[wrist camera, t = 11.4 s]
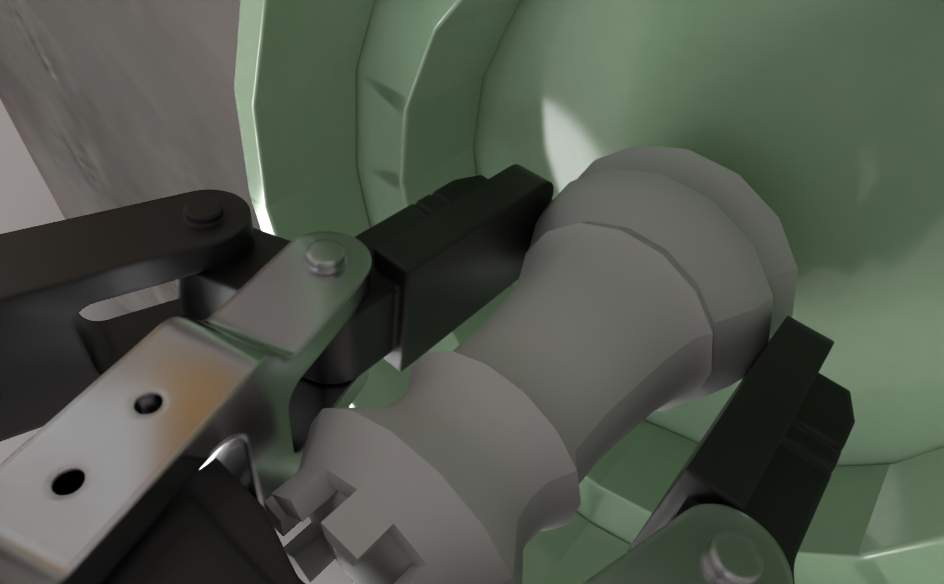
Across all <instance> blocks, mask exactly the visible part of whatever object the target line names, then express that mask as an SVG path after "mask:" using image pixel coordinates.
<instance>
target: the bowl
mask: <svg viewBox="0 0 944 584" xmlns="http://www.w3.org/2000/svg"><path fill="white" fill-rule="evenodd" d="M234 88H235V91H234V93H235V100H236V106H237V113H238V120H239V127H240V133H241V140H242V147H243V154H244V160H245V167H246V174H247V181H248V187H249V194H250V197H251V201H252V204H253V207H254V210H255V213H256V216H257V219H258V222H259V225H260V228H261V231H263V232H266V233H269V234H272V235H275V236H278V237H281V238H283V239H286V240H289V241H292V240H294V239H296V238H297V237H299V236H302V235H305V234H308V233H312V232H318V231H334V232H340V233H344V234H347V235H350V236H352V237H355V236H357V235H358V234H360V233H362V232H364V231H365V230H367V229H369V228H371V227H373V226H374V225H376V224H378V223H380V222H381V221H383V220H385V219H387V218H388V217H390V216H392V215H394V214H395V213H397V212H399V211H401V210H402V209H404V208H406V207H408V206H409V205H411V204H414V205H415V204H416V203H417V201H418V200H420V199H422V198H423V197H425V196H427V195H429V194H430V195H432V194H433V192H434V191H436V190H438V189H439V188H441V187H443V186H445V185H446V184H448V183H450V182H452V181H453V180H457V179H462V178H467V177H472V176H477V175H482V176H484V177H486V178H488V179H489V178H491V177H493V176H494V175H496V174H498V173H499V172H501V171H503V170H504V169H506V168H508V167H509V166H511V165H514V164H519V165H521V166H523V167H524V168H526V169H528V170H530V171H532V172H533V173H535V174H537V175H539V176H541V177H542V178H544V179H546V180H548V181H550V182H551V183H552V184H553V187H554V191H553V197H552V201H553V200H554V199H555V197H556V196H557V195H558V194H559V193H560V192H561V191H562V190H563V189H564V188H565V187H566V186H567V184H568V183H569V182H571V181H574V180H576V179H577V178H578V177H579V176H580V175H581V174H582V173H583V172H584V171H585V170H586V169H587V168H588V167H589V165H590V164H591V163H592V162H593V161H594V160H596V159H598V158H601V157H604V156H607V155H609V154H612V153H615V152H618V151H621V150H623V149H626V148H629V147H632V146H634V145H645V146H658V147H670V148H683V149H689V150H691V151H693V152H695V153H697V154H699V155H701V156H703V157H705V158H707V159H709V160H711V161H713V162H715V163H717V164H719V165H721V166H723V167H725V168H727V169H729V170H731V171H733V172H735V173H737V174H739V175H740V176H741V177H742V178H743V179H744V180H745V181H746V182H747V184H748V185H749V186H750V187H751V188H752V189H753V190H754V191H755V192H756V193H757V194H758V195H759V197H760V198H761V199H762V200H763V201H764V202H765V203H766V204H767V205H768V206H769V207H770V208H771V209H772V211H773V212H774V213H775V214H776V215H777V216H778V217H779V219H780V222H781V224H782V227H783V230H784V233H785V235H786V238H787V241H788V243H789V246H790V249H791V252H792V254H793V257H794V260H795V263H796V265H797V268H798V271H797V280H796V289H795V298H794V307H793V316H792V318H793V319H795V320H797V321H799V322H801V323H802V324H804V325H806V326H808V327H810V328H811V329H813V330H815V331H817V332H818V333H820V334H822V335H824V336H826V337H827V338H829V339H831V340H833V341H834V344H833V346H832V348H831V350H830V352H829V354H828V356H827V358H826V359H825V361H824V363H823V365H822V367H821V369H820V371H819V372H818V373H820V374H822V375H823V376H825V377H827V378H829V379H830V380H832V381H834V382H835V383H837V384H839V385H840V386H842V387H844V388H846V389H847V390H849V391H850V393H851V400H852V406H853V413H854V419H855V423H854V426H853V428H852V430H851V432H850V435H849V437H848V439H847V441H846V444H845V446H844V448H843V449H842V451H841V455H840V457H839V460H838V462H837V464H836V466H835V469H834V470H833V471H832V473H831V474H832V475H831V478H830V480H829V482H828V485H827V487H826V489H825V491H824V494H823V496H822V498H821V500H820V503H819V505H818V507H817V509H816V512H815V514H814V516H813V519H812V521H811V523H810V525H809V528H808V530H807V532H806V534H805V537H804V539H803V541H802V543H801V546H800V548H799V550H798V553H797V556H796V559H795V564H794V583H795V584H944V0H240V11H239V24H238V38H237V51H236V64H235V78H234ZM552 201H551V202H552ZM518 281H519V279H518V280H517V281H516V282H514V283H513V284H512V285H511V286H509V287H508V288H507V289H505V290H504V291H503V292H502V293H500V294H499V295H498V296H497V297H495V298H494V299H493V300H492V301H490V302H489V303H488V304H486V305H485V306H484V307H483V308H481V309H480V310H479V311H478V312H476V313H475V314H474V315H473V316H471V317H470V318H469V319H468V320H466V321H465V322H464V323H462V324H461V325H460V326H459V327H457V328H456V329H455V330H454V331H452V332H451V333H450V334H449V335H447V336H446V337H445V338H444V339H442V340H441V341H440V342H438V343H437V344H436V345H435V346H433V347H432V348H431V349H430V350H428V351H427V352H426V353H431V352H444V351H453V350H455V349H456V348H457V347H458V346H459V345H461V344H462V343H463V342H464V341H465V340H467V339H468V338H469V337H470V336H472V335H473V334H474V333H475V332H476V331H477V330H478V329H479V328H480V326H481V325H482V324H483V323H484V322H485V321H486V320H487V319H488V317H489V316H490V315H491V314H492V313H493V312H494V311H495V309H496V308H497V307H498V306H499V305H500V304H501V303H502V302H503V300H504V299H505V298H506V297H507V296H508V295H509V294H510V292H511V291H512V290H513V289H514V287H515V286H516V284H517V283H518ZM423 355H424V354H423ZM423 355H422V356H423ZM422 356H421V357H422ZM421 357H420V358H421ZM420 358H418V359H417V360H416V361H414V362H413V363H412V364H411V365H409V366H408V367H407V368H406V369H404V370H403V371H402V372H399V371H398V370H397V369H396V368H394V367H393V366H392V365H391V364H389V363H388V362H387V361H386V360H384V359H381V360H380V361H379V362H377V363H376V364H375V365H373V366H372V367H371V368H369V376H368V379H367V382H366V384H365V385H364V387H363V388H362V390H361V391H360V393H359V394H358V395H357V397H356V398H355V400H354V401H353V402H352V404H351V405H350V407H349V408H353V407H386V406H388V405H389V404H391V403H393V402H394V401H396V400H397V399H399V398H401V397H402V396H403V395H404V394H405V393H406V392H407V389H408V382H409V375H410V368H411V367H412V366H413V365H414V364H415V363H416V362H417V361H418V360H419V359H420ZM742 379H743V378H742ZM742 379H740V380H739V381H737V382H735V383H734V384H732V385H730V386H729V387H726V388H724V389H722V390H719V391H717V392H715V393H713V394H710V395H708V396H706V397H704V398H701V399H699V400H697V401H694V402H684V403H682V404H680V405H677V406H675V407H673V408H671V409H668V410H666V411H654V412H652V413H651V414H650V415H649V416H648V417H646V418H645V419H644V420H643V421H642V422H641V423H640V424H638V425H637V426H636V427H635V428H634V429H633V430H632V431H631V432H629V433H628V434H627V435H626V436H625V437H624V438H623V439H622V440H620V441H619V442H618V443H617V444H616V445H615V446H614V447H613V448H611V449H610V450H609V451H608V452H607V453H606V454H605V455H603V456H602V457H601V458H600V459H599V460H598V461H597V463H596V464H595V465H594V466H593V468H592V469H591V470H590V471H589V473H588V474H587V475H586V476H585V478H584V479H583V480H582V481H581V483H580V484H579V489H580V500H581V504H580V506H579V508H578V510H577V511H576V513H575V515H574V517H573V519H572V520H571V522H570V524H569V525H565V526H562V527H558V528H555V529H551V530H547V531H539V532H538V533H537V534H536V535H535V536H534V537H533V538H532V539H531V540H529V541H528V542H527V544H526V546H525V547H524V549H523V570H522V584H582V583H584V582H585V581H587V580H588V579H589V578H591V577H592V576H594V575H595V574H596V573H598V572H599V571H601V570H602V569H604V568H605V567H606V566H608V565H609V564H611V563H612V562H613V561H615V560H616V559H618V558H619V557H621V556H622V555H623V554H625V553H626V552H627V550H628V549H629V547H630V546H631V544H632V543H633V541H634V540H635V538H636V537H637V535H638V534H639V532H640V531H641V529H642V528H643V526H644V525H645V523H646V522H647V520H648V519H649V517H650V516H651V514H652V513H653V511H654V510H655V508H656V507H657V505H658V504H659V502H660V501H661V499H662V498H663V496H664V495H665V493H666V492H667V490H668V489H669V487H670V486H671V484H672V483H673V481H674V480H675V478H676V477H677V475H678V474H679V472H680V471H681V469H682V468H683V466H684V465H685V463H686V462H687V460H688V459H689V457H690V456H691V454H692V453H693V451H694V450H695V448H696V447H697V445H698V444H699V442H700V441H701V439H702V438H703V436H704V435H705V433H706V432H707V430H708V429H709V427H710V426H711V424H712V423H713V421H714V420H715V418H716V417H717V415H718V414H719V412H720V411H721V409H722V408H723V407H724V405H725V404H726V402H727V401H728V399H729V398H730V396H731V395H732V393H733V392H734V390H735V389H736V388H737V386H738V385H739V383H740V382H741V380H742Z"/></svg>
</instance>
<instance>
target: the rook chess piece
mask: <svg viewBox="0 0 944 584" xmlns="http://www.w3.org/2000/svg"><path fill="white" fill-rule="evenodd" d="M797 271H798V268H797V265H796V263H795V260H794V257H793V254H792V252H791V249H790V246H789V243H788V241H787V238H786V235H785V233H784V230H783V227H782V224H781V222H780V219H779V217H778V216H777V215H776V214H775V213H774V212H773V211H772V209H771V208H770V207H769V206H768V205H767V204H766V203H765V202H764V201H763V200H762V199H761V198H760V197H759V195H758V194H757V193H756V192H755V191H754V190H753V189H752V188H751V187H750V186H749V185H748V184H747V182H746V181H745V180H744V179H743V178H742V177H741V176H740V175H739V174H737V173H735V172H733V171H731V170H729V169H727V168H725V167H723V166H721V165H719V164H717V163H715V162H713V161H711V160H709V159H707V158H705V157H703V156H701V155H699V154H697V153H695V152H693V151H691V150H689V149H683V148H670V147H658V146H645V145H634V146H632V147H629V148H626V149H623V150H621V151H618V152H615V153H612V154H609V155H607V156H604V157H601V158H598V159H596V160H594V161H593V162H592V163H591V164H590V165H589V167H588V168H587V169H586V170H585V171H584V172H583V173H582V174H581V175H580V176H579V177H578V178H577V179H576V180H574V181H571V182H569V183H568V184H567V186H566V187H565V188H564V189H563V190H562V191H561V192H560V193H559V194H558V195H557V196H556V197H555V199H554V200H553V201H552V202H551V203H550V204H549V205H548V206H547V207H546V208H545V209H544V211H543V212H542V214H541V216H540V217H539V219H538V220H537V222H536V225H535V229H534V232H533V236H532V240H531V244H530V247H529V250H528V251H527V252H526V254H525V258H524V262H523V265H522V269H521V273H520V277H519V281H518V283H517V284H516V286H515V287H514V289H513V290H512V291H511V292H510V294H509V295H508V296H507V297H506V298H505V299H504V300H503V302H502V303H501V304H500V305H499V306H498V307H497V308H496V309H495V311H494V312H493V313H492V314H491V315H490V316H489V317H488V319H487V320H486V321H485V322H484V323H483V324H482V325H481V326H480V328H479V329H478V330H477V331H476V332H475V333H474V334H473V335H472V336H470V337H469V338H468V339H467V340H465V341H464V342H463V343H462V344H461V345H459V346H458V347H457V348H456V349H455V350H453V351H444V352H431V353H425V354H424V355H423V356H422V357H421V358H420V359H419V360H418V361H417V362H416V363H415V364H414V365H413V366H412V367H411V368H410V375H409V382H408V389H407V392H406V393H405V394H404V395H403V396H402V397H401V398H399V399H397V400H396V401H394V402H393V403H391V404H389V405H388V406H386V407H353V408H323V409H322V410H321V412H320V413H319V414H318V415H317V417H316V418H315V419H314V421H313V422H312V423H311V426H310V429H309V433H308V437H307V441H306V444H305V448H304V452H303V455H302V459H301V463H300V467H299V470H298V472H297V473H296V474H294V475H293V476H292V477H291V478H290V479H288V480H287V481H286V482H285V483H283V484H282V485H281V486H280V487H278V488H277V489H276V490H275V491H274V492H272V493H271V494H272V496H271V497H269V498H268V499H267V500H266V501H264V505H265V510H266V512H267V514H268V517H269V519H270V521H271V523H272V525H273V527H274V528H275V529H276V530H277V531H278V532H279V533H280V534H281V535H282V536H284V535H286V534H287V533H288V532H289V531H290V530H291V529H292V528H294V527H295V526H296V525H297V524H298V523H299V522H300V521H302V522H303V521H304V520H305V519H306V518H307V517H310V519H311V521H312V523H310V524H309V525H308V526H307V527H306V528H305V529H304V530H303V531H302V532H300V533H299V534H298V535H297V536H296V537H295V538H294V539H292V540H291V541H290V542H289V543H288V544H287V545H286V546H285V547H284V549H285V552H286V554H287V556H288V558H289V560H290V562H291V564H292V566H293V567H294V569H295V570H296V572H297V573H298V575H299V577H300V578H301V580H302V581H306V582H311V581H312V580H313V579H314V578H315V577H316V576H317V575H318V574H320V573H321V572H322V571H323V570H324V569H325V568H326V567H327V566H328V565H329V564H330V563H331V562H332V561H333V560H334V559H336V560H337V562H338V564H339V565H340V566H341V568H342V569H343V570H344V571H345V573H346V574H347V575H348V576H349V578H350V579H351V580H352V582H353V583H354V584H522V570H523V549H524V547H525V546H526V544H527V542H528V541H529V540H531V539H532V538H533V537H534V536H535V535H536V534H537V533H538V532H539V531H547V530H551V529H555V528H558V527H562V526H565V525H569V524H570V522H571V520H572V519H573V517H574V515H575V513H576V511H577V510H578V508H579V506H580V504H581V500H580V489H579V484H580V483H581V481H582V480H583V479H584V478H585V476H586V475H587V474H588V473H589V471H590V470H591V469H592V468H593V466H594V465H595V464H596V463H597V461H598V460H599V459H600V458H601V457H602V456H603V455H605V454H606V453H607V452H608V451H609V450H610V449H611V448H613V447H614V446H615V445H616V444H617V443H618V442H619V441H620V440H622V439H623V438H624V437H625V436H626V435H627V434H628V433H629V432H631V431H632V430H633V429H634V428H635V427H636V426H637V425H638V424H640V423H641V422H642V421H643V420H644V419H645V418H646V417H648V416H649V415H650V414H651V413H652V412H654V411H666V410H668V409H671V408H673V407H675V406H677V405H680V404H682V403H684V402H694V401H697V400H699V399H701V398H704V397H706V396H708V395H710V394H713V393H715V392H717V391H719V390H722V389H724V388H726V387H729V386H730V385H732V384H734V383H735V382H737V381H739V380H740V379H742V378H743V377H744V376H745V375H746V374H747V372H748V371H749V369H750V368H751V366H752V365H753V364H754V362H755V361H756V359H757V358H758V357H759V355H760V354H761V352H762V351H763V349H764V348H765V347H766V345H767V344H768V342H769V341H770V339H771V338H772V336H773V335H774V333H775V332H776V331H777V329H778V328H779V326H780V325H781V324H782V322H783V321H784V319H785V318H786V317H787V315H788V316H790V317H792V316H793V307H794V298H795V289H796V280H797Z"/></svg>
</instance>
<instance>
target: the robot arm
mask: <svg viewBox="0 0 944 584" xmlns="http://www.w3.org/2000/svg"><path fill="white" fill-rule="evenodd" d="M553 191H554V187H553V184H552V183H551V182H550V181H548V180H546V179H544V178H542V177H541V176H539V175H537V174H535V173H533V172H532V171H530V170H528V169H526V168H524V167H523V166H521V165H519V164H514V165H511V166H509V167H508V168H506V169H504V170H503V171H501V172H499V173H498V174H496V175H494V176H493V177H491V178H489V179H488V178H486V177H484V176H482V175H477V176H472V177H467V178H462V179H457V180H453V181H452V182H450V183H448V184H446V185H445V186H443V187H441V188H439V189H438V190H436V191H434V192H433V194H432V195H430V194H429V195H427V196H425V197H423V198H422V199H420V200H418V201H417V203H416V204H415V205H414V204H411V205H409V206H408V207H406V208H404V209H402V210H401V211H399V212H397V213H395V214H394V215H392V216H390V217H388V218H387V219H385V220H383V221H381V222H380V223H378V224H376V225H374V226H373V227H371V228H369V229H367V230H365V231H364V232H362V233H360V234H358V235H357V236H355V237H352V236H350V235H347V234H344V233H340V232H334V231H318V232H312V233H308V234H305V235H302V236H299V237H297V238H296V239H294V240H292V241H289V240H286V239H283V238H281V237H278V236H275V235H272V234H269V233H266V232H263V231H261V230H258V229H255V228H253V226H252V219H251V212H250V208H249V206H248V204H247V203H246V202H245V201H244V200H243V199H242V198H241V197H239V196H237V195H235V194H232V193H230V192H226V191H220V190H198V191H193V192H188V193H183V194H179V195H174V196H170V197H166V198H161V199H157V200H152V201H148V202H143V203H139V204H134V205H130V206H125V207H121V208H116V209H112V210H107V211H103V212H98V213H94V214H89V215H85V216H80V217H76V218H71V219H67V220H63V221H58V222H53V223H49V224H45V225H40V226H35V227H31V228H27V229H22V230H17V231H13V232H9V233H4V234H0V441H3V440H6V439H9V438H12V437H14V436H17V435H20V434H23V433H26V432H28V431H31V430H34V429H37V428H40V427H42V428H41V429H40V430H39V431H37V432H36V433H35V434H34V435H33V436H32V437H31V438H29V439H28V440H27V441H26V442H25V443H24V444H23V445H21V447H19V448H18V449H17V450H16V451H15V452H13V453H12V454H11V455H10V456H9V457H8V458H7V459H6V460H4V461H3V462H2V463H1V464H0V584H305V583H304V582H302V580H301V579H300V578H299V577H298V575H297V574H296V572H295V570H294V568H293V566H292V564H291V562H290V560H289V558H288V556H287V554H286V552H285V549H284V547H283V546H282V543H281V541H280V539H279V537H278V535H277V533H276V529H275V528H274V527H273V525H272V523H271V521H270V519H269V517H268V514H267V512H266V510H265V505H264V501H266V500H267V499H268V498H269V497H271V496H272V494H271V493H272V492H274V491H275V490H276V489H277V488H278V487H280V486H281V485H282V484H283V483H285V482H286V481H287V480H288V479H290V478H291V477H292V476H293V475H294V474H296V473H297V472H298V470H299V467H300V463H301V459H302V455H303V452H304V448H305V444H306V441H307V437H308V433H309V429H310V426H311V423H312V422H313V421H314V419H315V418H316V417H317V415H318V414H319V413H320V412H321V410H322V409H323V408H349V407H350V405H351V404H352V402H353V401H354V400H355V398H356V397H357V395H358V394H359V393H360V391H361V390H362V388H363V387H364V385H365V384H366V382H367V379H368V376H369V368H371V367H372V366H373V365H375V364H376V363H377V362H379V361H380V360H381V359H384V360H386V361H387V362H388V363H389V364H391V365H392V366H393V367H394V368H396V369H397V370H398V371H399V372H402V371H403V370H404V369H406V368H407V367H408V366H409V365H411V364H412V363H413V362H414V361H416V360H417V359H418V358H420V357H421V356H422V355H423V354H425V353H426V352H427V351H428V350H430V349H431V348H432V347H433V346H435V345H436V344H437V343H438V342H440V341H441V340H442V339H444V338H445V337H446V336H447V335H449V334H450V333H451V332H452V331H454V330H455V329H456V328H457V327H459V326H460V325H461V324H462V323H464V322H465V321H466V320H468V319H469V318H470V317H471V316H473V315H474V314H475V313H476V312H478V311H479V310H480V309H481V308H483V307H484V306H485V305H486V304H488V303H489V302H490V301H492V300H493V299H494V298H495V297H497V296H498V295H499V294H500V293H502V292H503V291H504V290H505V289H507V288H508V287H509V286H511V285H512V284H513V283H514V282H516V281H517V280H518V279H519V277H520V273H521V269H522V265H523V262H524V258H525V254H526V252H527V251H528V250H529V247H530V244H531V240H532V236H533V232H534V229H535V225H536V222H537V220H538V219H539V217H540V216H541V214H542V212H543V211H544V209H545V208H546V207H547V206H548V205H549V204H550V203H551V201H552V197H553ZM173 280H174V284H175V287H176V291H177V294H178V298H179V299H176V300H173V301H169V302H166V303H163V304H159V305H156V306H153V307H149V308H146V309H142V310H139V311H136V312H132V313H129V314H126V315H122V316H119V317H115V318H112V319H109V320H105V321H90V320H87V319H85V318H83V317H82V316H81V315H80V314H79V312H80V311H81V310H82V309H83V308H85V307H86V306H88V305H90V304H93V303H96V302H99V301H102V300H106V299H110V298H113V297H117V296H120V295H124V294H127V293H131V292H134V291H138V290H141V289H145V288H149V287H152V286H156V285H159V284H163V283H166V282H170V281H173ZM833 344H834V341H833V340H831V339H829V338H827V337H826V336H824V335H822V334H820V333H818V332H817V331H815V330H813V329H811V328H810V327H808V326H806V325H804V324H802V323H801V322H799V321H797V320H795V319H793V318H792V317H790V316H788V315H787V317H786V318H785V319H784V321H783V322H782V324H781V325H780V326H779V328H778V329H777V331H776V332H775V333H774V335H773V336H772V338H771V339H770V341H769V342H768V344H767V345H766V347H765V348H764V349H763V351H762V352H761V354H760V355H759V357H758V358H757V359H756V361H755V362H754V364H753V365H752V366H751V368H750V369H749V371H748V372H747V374H746V375H745V376H744V377H743V379H742V380H741V382H740V383H739V385H738V386H737V388H736V389H735V390H734V392H733V393H732V395H731V396H730V398H729V399H728V401H727V402H726V404H725V405H724V407H723V408H722V409H721V411H720V412H719V414H718V415H717V417H716V418H715V420H714V421H713V423H712V424H711V426H710V427H709V429H708V430H707V432H706V433H705V435H704V436H703V438H702V439H701V441H700V442H699V444H698V445H697V447H696V448H695V450H694V451H693V453H692V454H691V456H690V457H689V459H688V460H687V462H686V463H685V465H684V466H683V468H682V469H681V471H680V472H679V474H678V475H677V477H676V478H675V480H674V481H673V483H672V484H671V486H670V487H669V489H668V490H667V492H666V493H665V495H664V496H663V498H662V499H661V501H660V502H659V504H658V505H657V507H656V508H655V510H654V511H653V513H652V514H651V516H650V517H649V519H648V520H647V522H646V523H645V525H644V526H643V528H642V529H641V531H640V532H639V534H638V535H637V537H636V538H635V540H634V541H633V543H632V544H631V546H630V547H629V549H628V550H627V552H626V553H625V554H623V555H622V556H621V557H619V558H618V559H616V560H615V561H613V562H612V563H611V564H609V565H608V566H606V567H605V568H604V569H602V570H601V571H599V572H598V573H596V574H595V575H594V576H592V577H591V578H589V579H588V580H587V581H585V582H584V583H582V584H795V583H794V564H795V559H796V556H797V553H798V550H799V548H800V546H801V543H802V541H803V539H804V537H805V534H806V532H807V530H808V528H809V525H810V523H811V521H812V519H813V516H814V514H815V512H816V509H817V507H818V505H819V503H820V500H821V498H822V496H823V494H824V491H825V489H826V487H827V485H828V482H829V480H830V478H831V475H832V474H831V473H832V471H833V470H834V469H835V466H836V464H837V462H838V460H839V457H840V455H841V451H842V449H843V448H844V446H845V444H846V441H847V439H848V437H849V435H850V432H851V430H852V428H853V426H854V423H855V419H854V413H853V406H852V400H851V393H850V391H849V390H847V389H846V388H844V387H842V386H840V385H839V384H837V383H835V382H834V381H832V380H830V379H829V378H827V377H825V376H823V375H822V374H820V373H818V372H819V371H820V369H821V367H822V365H823V363H824V361H825V359H826V358H827V356H828V354H829V352H830V350H831V348H832V346H833Z"/></svg>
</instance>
